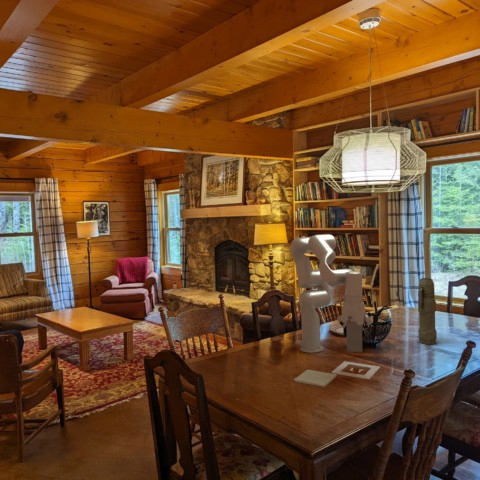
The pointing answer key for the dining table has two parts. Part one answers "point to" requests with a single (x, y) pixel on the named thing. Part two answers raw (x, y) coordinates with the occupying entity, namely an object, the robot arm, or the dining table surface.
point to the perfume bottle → (354, 336)
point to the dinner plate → (337, 329)
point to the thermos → (427, 312)
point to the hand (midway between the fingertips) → (354, 337)
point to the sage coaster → (315, 378)
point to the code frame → (366, 376)
